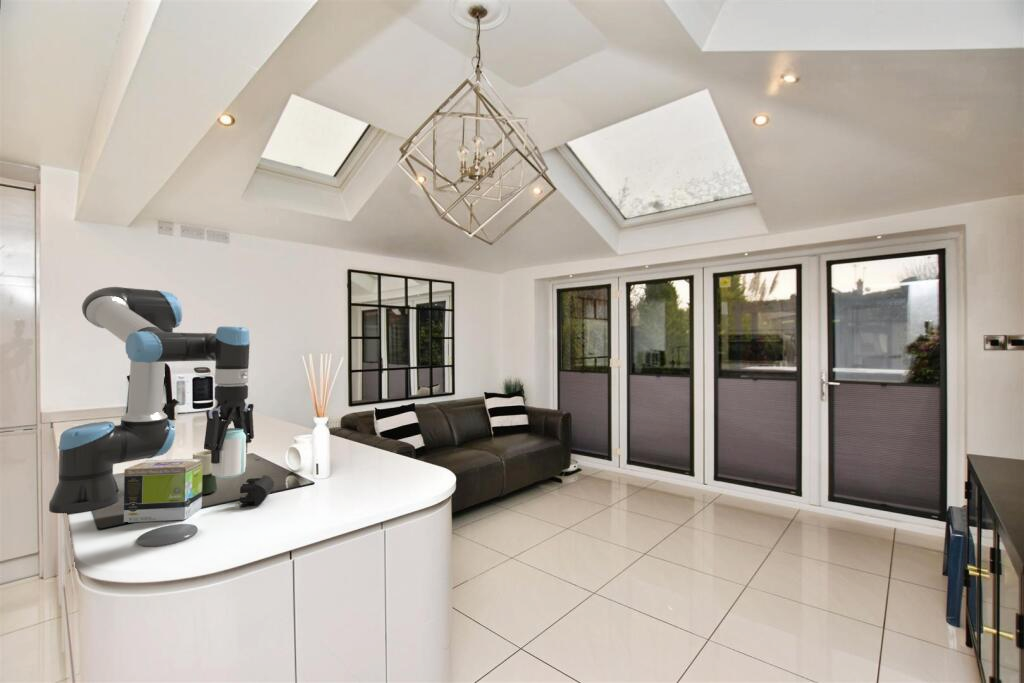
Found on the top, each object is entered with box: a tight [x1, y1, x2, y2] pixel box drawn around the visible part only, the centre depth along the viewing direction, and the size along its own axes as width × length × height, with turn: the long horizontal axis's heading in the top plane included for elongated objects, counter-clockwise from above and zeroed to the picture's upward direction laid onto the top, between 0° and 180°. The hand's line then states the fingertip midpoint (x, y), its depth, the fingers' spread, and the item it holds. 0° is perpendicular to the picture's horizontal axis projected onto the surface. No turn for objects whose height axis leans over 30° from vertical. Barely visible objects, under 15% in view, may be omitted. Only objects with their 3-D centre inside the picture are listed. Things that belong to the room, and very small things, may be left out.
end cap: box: [239, 475, 275, 509], centre depth 138 cm, size 10×7×7 cm
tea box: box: [123, 458, 203, 523], centre depth 126 cm, size 15×10×15 cm, turn 100°
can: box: [216, 427, 246, 479], centre depth 119 cm, size 7×7×12 cm
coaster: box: [136, 523, 198, 548], centre depth 113 cm, size 12×12×1 cm
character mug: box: [192, 450, 218, 495], centre depth 144 cm, size 11×7×13 cm, turn 109°
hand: (229, 471), depth 119 cm, fingers closed on can, 7 cm apart
